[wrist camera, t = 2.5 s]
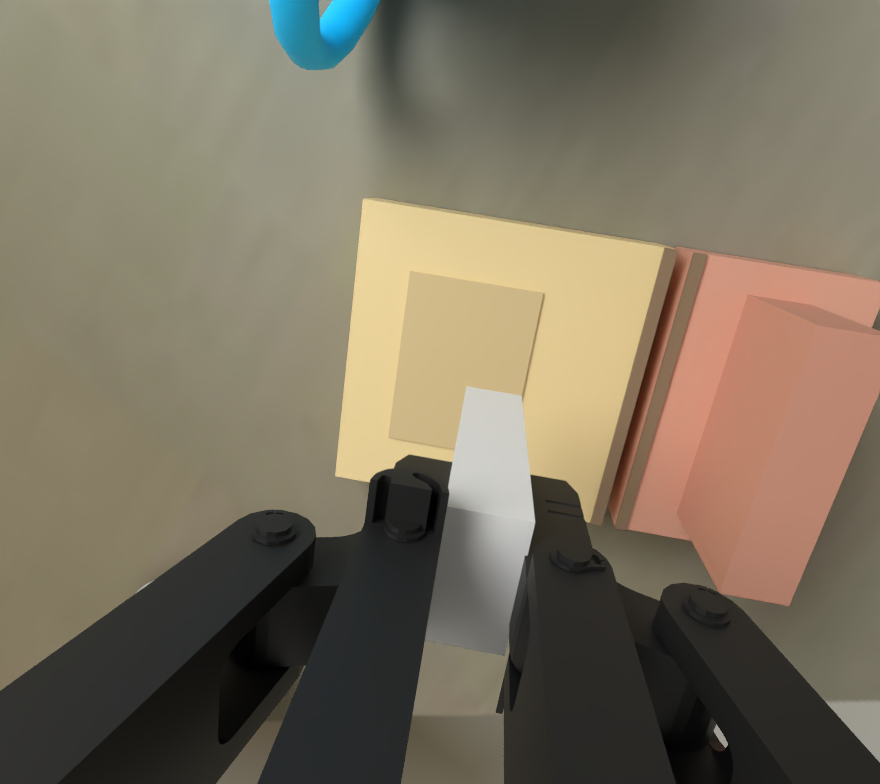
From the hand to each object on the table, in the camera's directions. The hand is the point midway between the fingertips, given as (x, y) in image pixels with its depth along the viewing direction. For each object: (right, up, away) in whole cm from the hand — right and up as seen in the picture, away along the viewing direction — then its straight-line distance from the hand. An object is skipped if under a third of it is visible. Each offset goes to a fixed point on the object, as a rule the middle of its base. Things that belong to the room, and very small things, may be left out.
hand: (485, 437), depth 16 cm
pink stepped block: (+9, +1, +6) cm, 11 cm away
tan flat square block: (+1, +3, +6) cm, 7 cm away
